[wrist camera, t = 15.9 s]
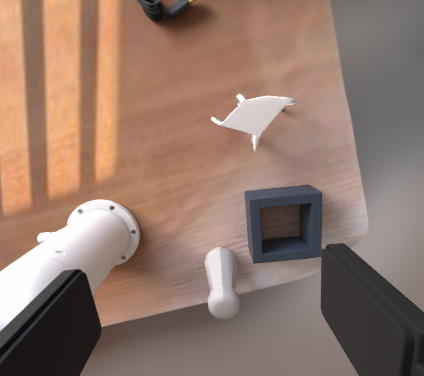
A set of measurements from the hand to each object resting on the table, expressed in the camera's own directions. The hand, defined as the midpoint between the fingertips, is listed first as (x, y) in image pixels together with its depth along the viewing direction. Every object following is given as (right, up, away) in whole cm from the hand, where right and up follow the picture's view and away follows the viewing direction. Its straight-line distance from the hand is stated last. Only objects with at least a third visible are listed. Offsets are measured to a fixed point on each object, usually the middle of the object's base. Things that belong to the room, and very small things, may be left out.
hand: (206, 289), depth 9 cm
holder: (+12, -1, +32) cm, 34 cm away
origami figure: (+7, +15, +28) cm, 32 cm away
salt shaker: (+2, -9, +34) cm, 35 cm away
